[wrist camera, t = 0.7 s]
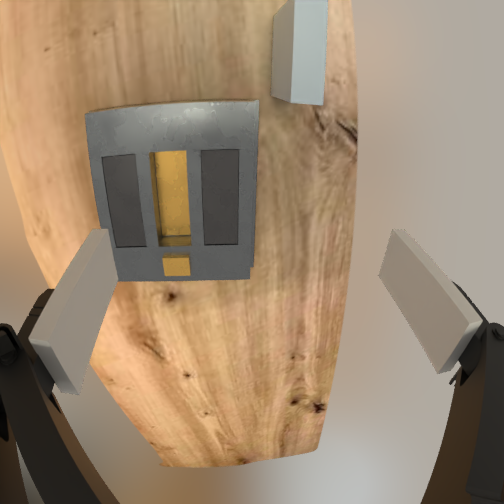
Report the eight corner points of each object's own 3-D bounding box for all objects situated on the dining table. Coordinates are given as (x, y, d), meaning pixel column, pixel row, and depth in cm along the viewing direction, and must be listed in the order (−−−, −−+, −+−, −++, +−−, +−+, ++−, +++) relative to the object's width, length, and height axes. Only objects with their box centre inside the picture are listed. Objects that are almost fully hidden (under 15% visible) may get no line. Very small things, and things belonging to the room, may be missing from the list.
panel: (273, 16, 25) (295, -8, 16) (297, 18, 25) (327, -3, 17) (270, 95, 30) (290, 102, 21) (294, 97, 30) (323, 105, 21)
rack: (91, 110, 28) (76, 115, 25) (258, 99, 30) (263, 102, 26) (115, 266, 38) (107, 284, 35) (252, 263, 40) (255, 282, 37)
